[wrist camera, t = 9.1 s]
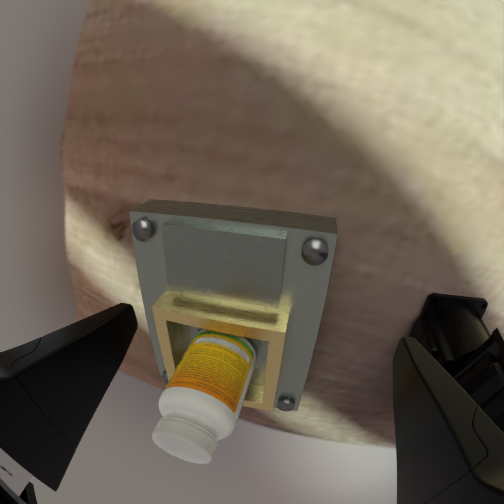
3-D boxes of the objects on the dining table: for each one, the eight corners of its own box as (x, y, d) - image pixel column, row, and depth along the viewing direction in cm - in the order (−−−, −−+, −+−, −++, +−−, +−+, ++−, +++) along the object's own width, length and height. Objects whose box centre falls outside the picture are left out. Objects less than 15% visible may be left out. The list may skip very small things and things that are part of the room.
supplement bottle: (187, 321, 22) (127, 416, 14) (254, 327, 21) (213, 441, 12) (200, 367, 24) (157, 455, 16) (259, 375, 23) (229, 475, 15)
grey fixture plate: (335, 218, 19) (339, 247, 15) (300, 387, 27) (294, 427, 23) (150, 199, 22) (112, 220, 17) (173, 361, 30) (153, 393, 25)
